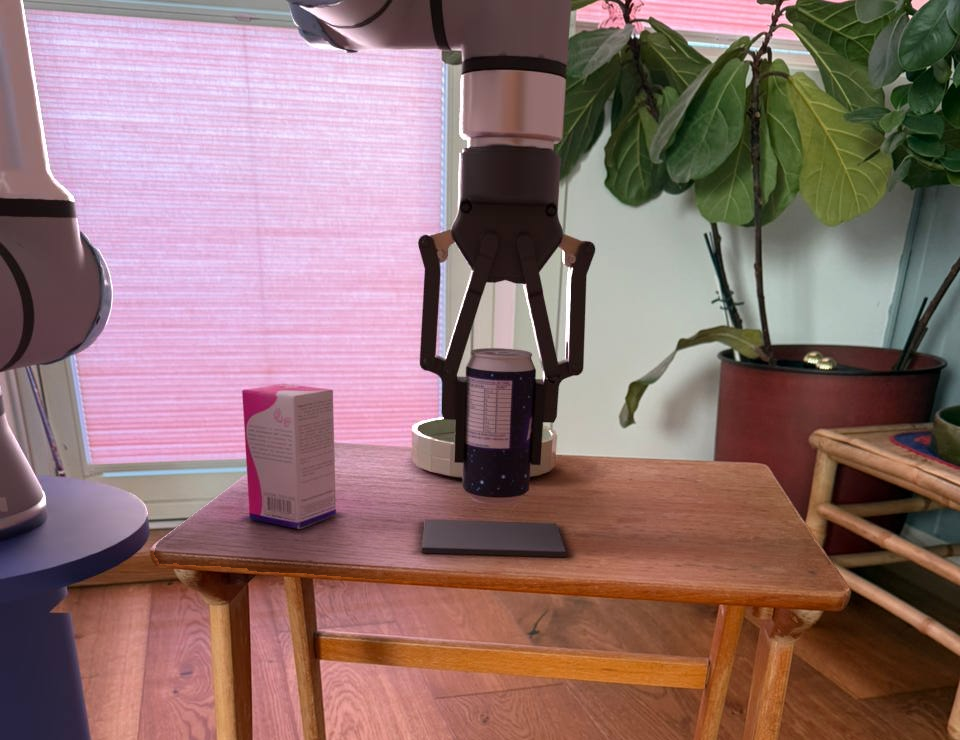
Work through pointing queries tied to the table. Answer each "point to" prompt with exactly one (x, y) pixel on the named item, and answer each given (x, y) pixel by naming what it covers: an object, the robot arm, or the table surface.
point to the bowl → (438, 448)
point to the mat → (492, 538)
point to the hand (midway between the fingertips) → (496, 459)
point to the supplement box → (290, 454)
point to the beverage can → (498, 425)
